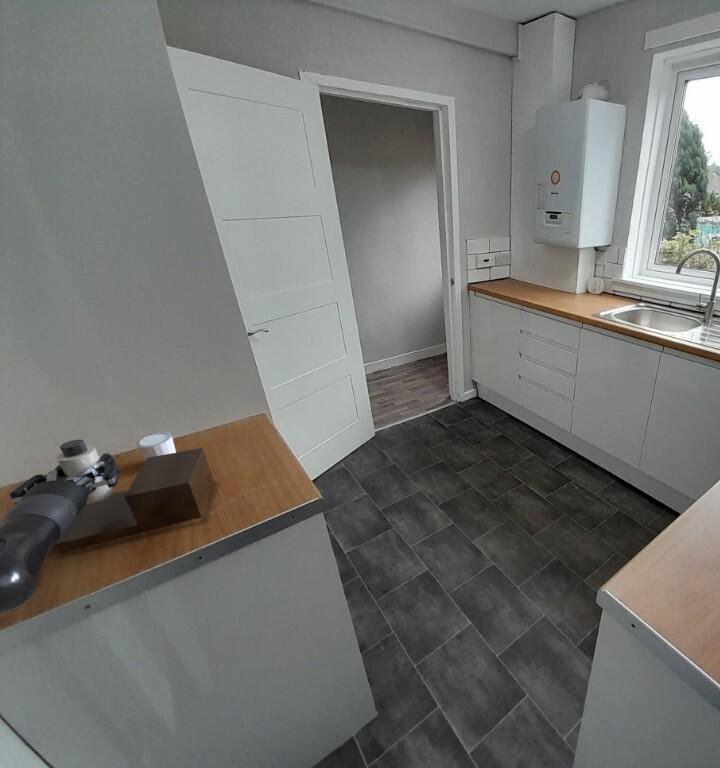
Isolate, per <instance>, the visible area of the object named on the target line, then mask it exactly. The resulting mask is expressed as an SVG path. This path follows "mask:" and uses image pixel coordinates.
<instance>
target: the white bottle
mask: <svg viewBox="0 0 720 768" xmlns="http://www.w3.org/2000/svg"><path fill="white" fill-rule="evenodd" d="M59 450H60V451H61V453H60V454H58V455H57V456H56V461H57V463H58V465H60V467H61V469H62V471H63V472H64V474H65V476H66V477H67V476H71V475H75V474H77V473H78V472H80V471H81V470H83V469H84V468H86V467H92V466H93V465H95V464H96V463H97V461H98V460H99V459H100V458H101V456H100V455H99V453H98V451H97V448H96V446H94V445H86V443H85V441H84V439H72V440H69V441H66V442H64V443H62V444H61V445H60V446H59ZM98 473H99V470H97V474H98ZM112 493H115V488H114V487H111V488H109V487H108V485H104V486H100V487H97V488H96V490H95V491H93V492H92V493H90V494H89V496H88V499H87V502H86V504H90V503H94V502H98V501H100V500H103V499H105V498H107V497H108V496H110V495H111V494H112Z"/></svg>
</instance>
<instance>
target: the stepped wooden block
mask: <svg viewBox="0 0 720 768" xmlns="http://www.w3.org/2000/svg"><path fill="white" fill-rule="evenodd" d="M214 481H215V480H214V477H213V474H212V471H211V469H210V465H209V463H208V459H207V457H206V453H205V450H204V447H199V448H194V449H188V450H182V451H176V453H171V454H166V455H160V456H155V457H149V458H147V459H146V460H145V461H144V463H143V464H142V466H141V468H140V469H139V471H138V473H137V474H136V476H135V477H134V479H133V481H132V482H131V485H130V486H129V488H128V489H127V490H123V491H117V492H113V493H112V494H111V495H110V496H108V497H107V498H105V499H103V500H100V501H98V502H94V503H90V504H86V505H85V506H84V508H83V509H82V510H81V512H80V513H79V515H78V516H77V517H76V519H75V520H74V521H73V523H72V524H71V526H70V527H69V528H68V530H67V531H66V532H65V533H64V534H63V535H62V536H61V537H60V538H59V539H58V540H57V542H56V543H55V545H54V546H55V547H56V548H57V550H58V552H59V554H64V553H68V552H71V551H74V550H79V549H82V548H86V547H90V546H95V545H98V544H102V543H106V542H110V541H113V540H114V541H115V540H118V539H121V538H125V537H129V536H134V535H136V534H137V535H138V534H141V533H144V532H148V531H152V530H156V529H160V528H165V527H168V526H172V525H176V524H180V523H184V522H187V521H192V520H195V519H199V518H202V517H203V513H204V510H205V508H206V505H207V501H208V499H209V495H210V492H211V490H212V486H213V484H214Z"/></svg>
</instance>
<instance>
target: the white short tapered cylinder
mask: <svg viewBox="0 0 720 768" xmlns="http://www.w3.org/2000/svg"><path fill="white" fill-rule="evenodd" d="M135 445H136V447H137V449H138V450H139V452H140V453H141V456H142V457H143V458H144V460H145V461H146V459H147V458H149V457H155V456H160V455H166V454H171V453H177V449H176V447H175V444H174V439H173V436H172V434H171V433H170V432H167V431H166V432H163V431H162V432H156V433H152V434H149V435H147V436H144V437H142V438H141V439H139V440H138V441H137V442H136V444H135Z"/></svg>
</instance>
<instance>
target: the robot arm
mask: <svg viewBox="0 0 720 768" xmlns="http://www.w3.org/2000/svg"><path fill="white" fill-rule="evenodd" d="M97 470H99V473H98V474H97ZM120 472H121V471H120V469H119V467H118V465H117V463H116V461H115V460H114V458H113V456H112V454H110V453H109V452H107V453H103V454H102V455H101V456H100V459H99V460H98V461H97V463H96V464H95V465H93V466H92V467H86V468H84V469H83V470H81V471H80V472H78V473H77V474H75V475H71V476H67V477H66V476H65V474H64V472H63V471H62V469H61V467H60V465H59V464H57V466H56V467H55V468H54V469H53V470H49V471H48V472H47V473H46V474H42V473H39V474H36V475H33V476H32V477H30V478H29V479H27V480H26V481H25V482H23V483H22V484H21V485H19V486H18V487H16V488H15V489H14V490H12V491H11V492H9V493H8V495H9V497H10V499H11V501H12V502H13V503H14V505H13V507H11V508H10V510H9V511H8V512H7V513H6V514H5V515H4V516H3V518H2V520H1V521H0V616H1V615H4V614H6V613H8V612H11V611H13V610H16V609H17V608H19V607H21V606H22V605H24V604H26V602H28V601H29V600H30V599H31V598H32V597H33V596H35V594H36V593H37V592H38V591H39V590H40V589H39V588H40V587H41V584H42V581H43V574H44V569H45V566H46V561H47V557H48V554H49V553H50V551H51V550H52V549H53V548H54V546H56V545H55V544H56V542H57V541H58V539H59V538H60V537H61V536H62V535H63V534H64V533H65V532H66V531H67V530H68V528H69V527H70V526H71V524H72V523H73V521H74V520H75V519H76V517H77V516H78V515H79V513H80V512H81V510H82V509H83V508H84V506H85V505H86V502H87V499H88V496H89V494H90V493H92V492H93V491H95V490H96V488H97V487H100V486H104V485H108V487H109V488H111V487H113V488H114V487H117V485H118V484H119V483H118V482H119V477H120Z"/></svg>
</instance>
